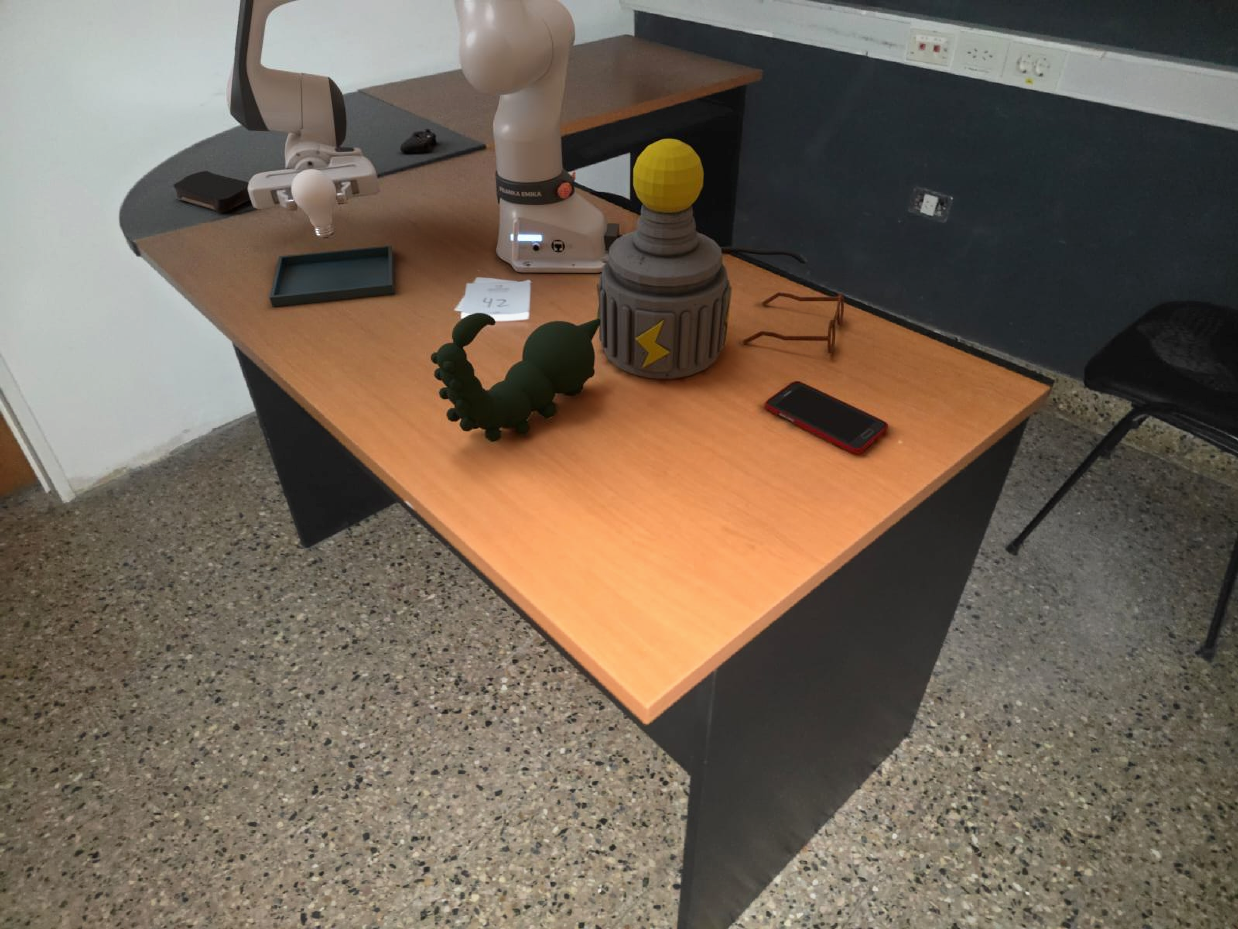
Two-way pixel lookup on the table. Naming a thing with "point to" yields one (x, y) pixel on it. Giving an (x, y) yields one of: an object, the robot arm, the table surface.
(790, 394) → the cell phone
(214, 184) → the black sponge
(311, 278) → the tray
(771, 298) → the glasses
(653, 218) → the decorative lamp
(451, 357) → the toy figurine
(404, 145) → the game controller
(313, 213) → the light bulb
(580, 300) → the table surface
